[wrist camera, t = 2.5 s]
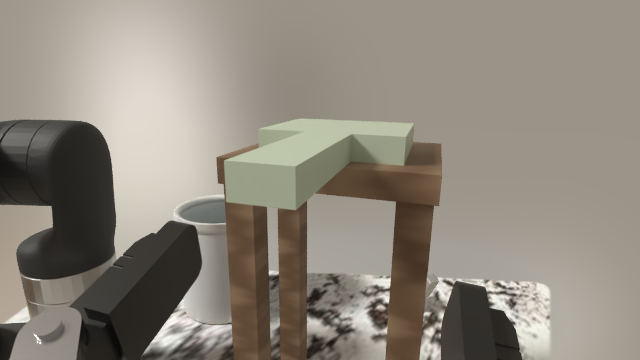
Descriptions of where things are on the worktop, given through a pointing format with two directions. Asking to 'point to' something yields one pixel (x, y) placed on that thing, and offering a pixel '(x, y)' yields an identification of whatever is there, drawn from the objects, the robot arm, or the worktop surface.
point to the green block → (310, 158)
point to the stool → (252, 255)
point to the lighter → (430, 284)
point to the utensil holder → (208, 260)
